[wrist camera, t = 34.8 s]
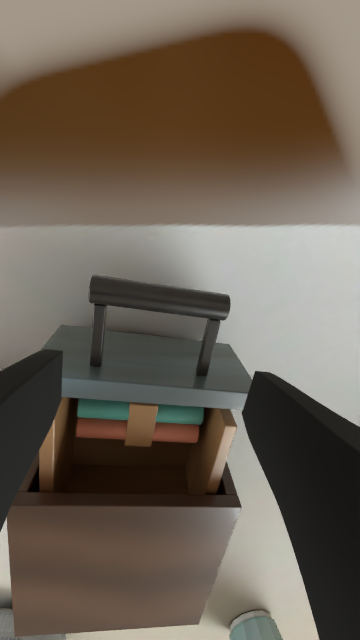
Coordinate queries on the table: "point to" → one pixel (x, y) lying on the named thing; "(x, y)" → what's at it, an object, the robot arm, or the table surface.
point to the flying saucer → (3, 629)
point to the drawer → (144, 395)
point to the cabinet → (114, 557)
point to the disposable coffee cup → (254, 627)
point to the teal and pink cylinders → (138, 422)
